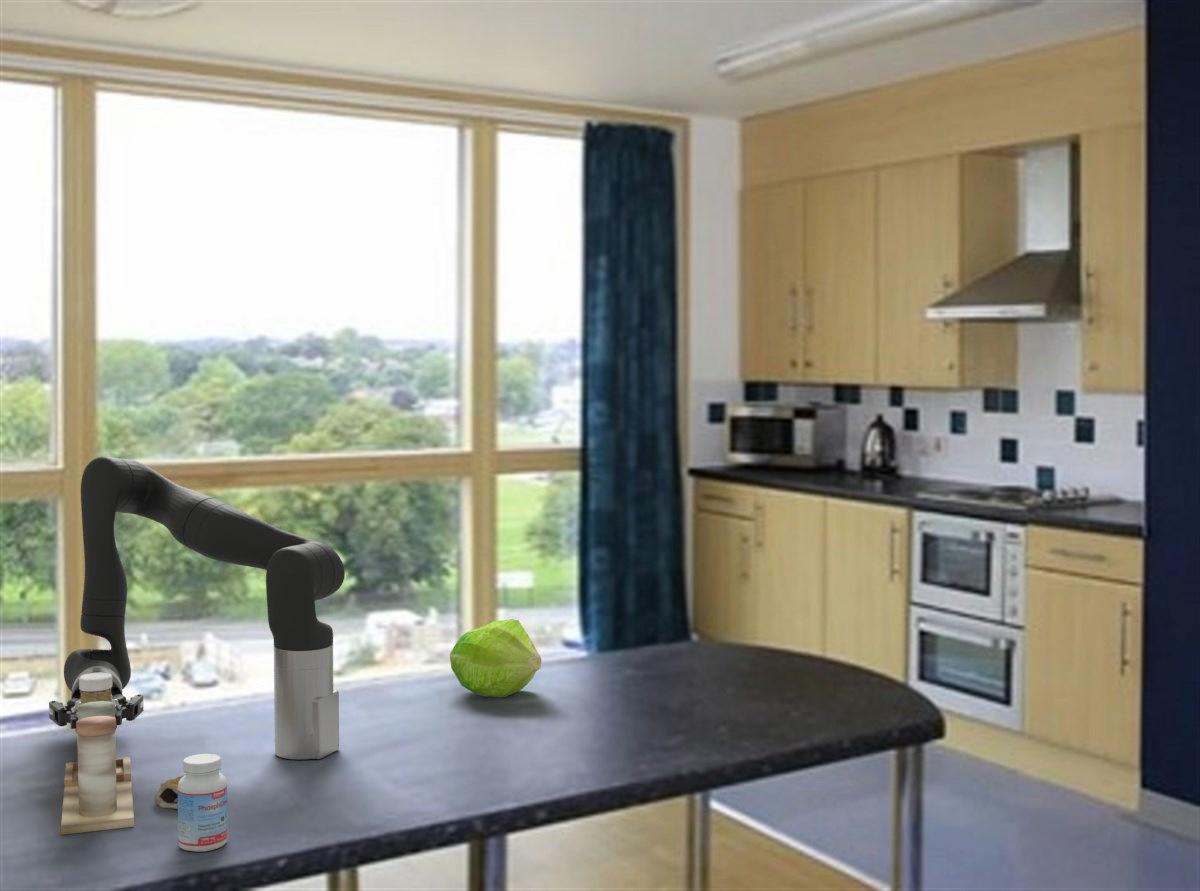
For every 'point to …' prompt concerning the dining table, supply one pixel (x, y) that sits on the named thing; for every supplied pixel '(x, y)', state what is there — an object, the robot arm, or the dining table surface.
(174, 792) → the pastry
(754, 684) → the dining table surface
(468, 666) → the lettuce
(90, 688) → the spice jar
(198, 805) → the pill bottle
